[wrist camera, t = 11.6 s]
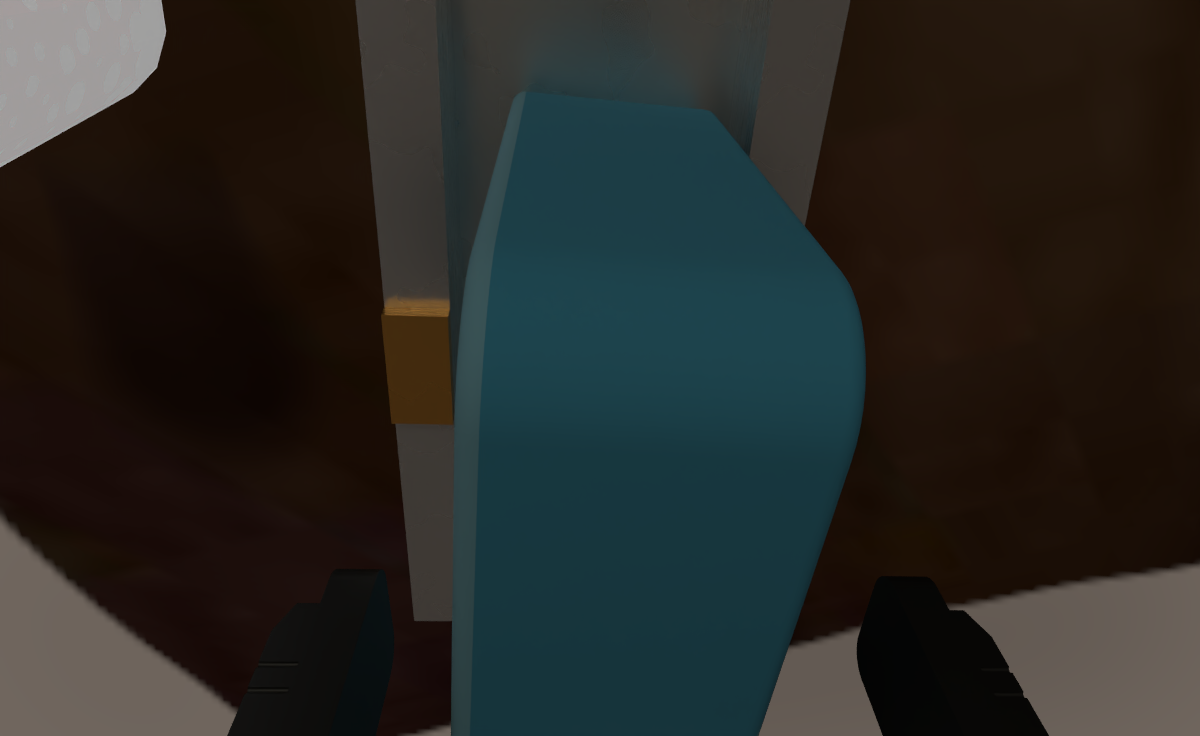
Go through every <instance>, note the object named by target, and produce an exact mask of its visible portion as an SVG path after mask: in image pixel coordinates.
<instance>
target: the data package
mask: <svg viewBox="0 0 1200 736" xmlns="http://www.w3.org/2000/svg"><path fill="white" fill-rule="evenodd" d="M865 379H866V361H865V345H864V335H863V328H862V322H861V318H860V313H859V309H858V306H857V303H856V299H855V296H854V294H853V291H852V289H851V287H850V285H849V283H848V281H847V280H846V278H845V277H844V275H843V274H842V272H841V271H840V270H839V268H838V267H837V266H836V265H835V263H834V262H833V261H832V260H831V258H830V257H829V256H828V255H827V253H826V252H825V251H824V250H823V248H822V247H821V246H820V245H819V244H818V242H817V241H816V240H815V239H814V237H813V236H812V235H811V234H810V232H809V231H808V230H807V229H806V227H805V226H804V225H803V224H802V222H801V221H800V220H799V219H798V217H797V216H796V215H795V214H794V212H793V211H792V210H791V209H790V207H789V206H788V205H787V204H786V202H785V201H784V200H783V199H782V198H781V196H780V195H779V194H778V193H777V191H776V190H775V189H774V188H773V186H772V185H771V184H770V183H769V181H768V180H767V179H766V178H765V176H764V175H763V174H762V173H761V171H760V170H759V169H758V168H757V166H756V165H755V164H754V163H753V161H752V160H751V159H750V158H749V157H748V155H747V154H746V153H745V152H744V150H743V149H742V148H741V147H740V145H739V144H738V143H737V142H736V140H735V139H734V138H733V137H732V135H731V134H730V133H729V132H728V130H727V129H726V128H725V127H724V125H723V124H722V123H721V122H720V120H719V119H718V118H717V117H716V116H715V114H713V113H712V112H711V111H709V110H703V109H694V108H684V107H674V106H664V105H654V104H644V103H634V102H624V101H614V100H604V99H595V98H585V97H575V96H565V95H555V94H545V93H535V92H520V93H518V94H517V95H516V96H515V97H514V99H513V102H512V105H511V109H510V112H509V116H508V120H507V123H506V127H505V131H504V134H503V138H502V142H501V145H500V149H499V153H498V156H497V160H496V164H495V167H494V171H493V175H492V178H491V182H490V186H489V189H488V193H487V197H486V200H485V204H484V208H483V211H482V215H481V219H480V222H479V226H478V230H477V233H476V237H475V240H474V244H473V248H472V251H471V256H470V260H469V264H468V269H467V275H466V281H465V288H464V296H463V304H462V312H461V322H460V333H459V344H458V357H457V372H456V390H455V415H454V498H453V594H452V690H451V736H758V735H759V732H760V729H761V727H762V724H763V721H764V718H765V715H766V712H767V709H768V706H769V703H770V700H771V697H772V694H773V691H774V688H775V685H776V682H777V679H778V676H779V673H780V670H781V667H782V664H783V661H784V659H785V656H786V653H787V650H788V647H789V644H790V641H791V638H792V635H793V632H794V629H795V626H796V623H797V620H798V617H799V614H800V611H801V608H802V605H803V603H804V600H805V597H806V594H807V591H808V588H809V585H810V582H811V579H812V576H813V573H814V570H815V567H816V564H817V561H818V558H819V555H820V552H821V549H822V546H823V543H824V541H825V538H826V535H827V532H828V529H829V526H830V523H831V520H832V517H833V514H834V511H835V508H836V505H837V502H838V499H839V496H840V493H841V490H842V487H843V484H844V482H845V479H846V476H847V473H848V470H849V467H850V464H851V461H852V458H853V454H854V451H855V448H856V444H857V440H858V435H859V431H860V426H861V420H862V414H863V407H864V396H865Z"/></svg>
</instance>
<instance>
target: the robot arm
mask: <svg viewBox="0 0 1200 736" xmlns="http://www.w3.org/2000/svg"><path fill="white" fill-rule="evenodd" d="M393 653H394V632H393V624H392V617H391V610H390V603H389V596H388V589H387V581H386V575H385V572H384V570H379V569H336V570H334V571H333V573H332V574H331V576H330V579H329V581H328V584H327V587H326V589H325V592H324V595H323V598H322V600H321V603H297V604H296V605H295V606H294V607H293V608H292V609H291V610H290V611H289V613H288V614H287V615H286V616H285V617H284V618H283V619H282V620H281V621H280V622H279V623H278V624H277V625H276V626H275V628H274V629H273V630H272V631H271V634H270V636H269V639H268V641H267V643H266V646H265V648H264V650H263V653H262V655H261V657H260V660H259V666H258V668H256V669H255V672H254V674H253V676H252V679H251V681H250V683H249V686H248V692H247V694H245V695H244V697H243V700H242V702H241V705H240V707H239V709H238V712H237V714H236V716H235V719H234V721H233V723H232V726H231V728H230V730H229V733H228V735H227V736H376V732H377V728H378V724H379V719H380V715H381V711H382V707H383V703H384V699H385V695H386V691H387V687H388V682H389V678H390V674H391V669H392V663H393ZM857 661H858V668H859V672H860V675H861V679H862V682H863V684H864V687H865V689H866V692H867V695H868V697H869V700H870V703H871V705H872V708H873V711H874V713H875V716H876V719H877V721H878V724H879V726H880V729H881V732H882V735H883V736H1049V735H1048V733H1047V731H1046V730H1045V728H1044V726H1043V725H1042V723H1041V721H1040V719H1039V718H1038V716H1037V714H1036V713H1035V711H1034V709H1033V708H1032V706H1031V704H1030V702H1029V700H1028V699H1027V698H1024V696H1023V690H1022V689H1021V687H1020V685H1019V683H1018V681H1017V680H1016V678H1015V676H1014V675H1013V673H1010V672H1009V666H1008V664H1007V663H1006V661H1005V659H1004V657H1003V656H1002V654H1001V652H1000V651H999V649H998V647H997V645H996V644H995V642H994V640H993V638H992V637H991V636H990V635H989V634H988V633H987V632H986V631H985V630H984V629H983V628H982V627H981V626H980V625H979V624H977V622H975V621H974V620H973V619H972V618H971V617H970V616H969V615H968V614H967V613H966V612H965V611H963V610H949V609H948V607H947V605H946V603H945V601H944V599H943V598H942V596H941V594H940V592H939V590H938V588H937V587H936V585H935V583H934V582H933V581H932V580H931V579H930V578H928V577H902V576H881V577H879V578H878V580H877V581H876V583H875V586H874V589H873V592H872V595H871V599H870V602H869V605H868V608H867V611H866V614H865V617H864V620H863V624H862V627H861V630H860V633H859V636H858V641H857Z"/></svg>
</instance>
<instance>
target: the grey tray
mask: <svg viewBox="0 0 1200 736" xmlns="http://www.w3.org/2000/svg"><path fill="white" fill-rule="evenodd" d="M849 4H850V0H356V9H357V20H358V31H359V41H360V52H361V62H362V73H363V83H364V94H365V105H366V115H367V126H368V136H369V147H370V157H371V168H372V178H373V189H374V200H375V210H376V221H377V231H378V242H379V252H380V263H381V274H382V284H383V295H384V305H385V308H384V310H383V312H382V314H381V318H382V329H383V339H384V349H385V359H386V369H387V380H388V390H389V400H390V410H391V421H392V424H396V432H397V443H398V453H399V464H400V474H401V485H402V495H403V506H404V516H405V527H406V538H407V548H408V559H409V569H410V580H411V590H412V601H413V612H414V621H452V594H453V498H454V415H455V390H456V372H457V357H458V344H459V333H460V322H461V312H462V304H463V296H464V288H465V281H466V275H467V269H468V264H469V260H470V256H471V251H472V248H473V244H474V240H475V237H476V233H477V230H478V226H479V222H480V219H481V215H482V211H483V208H484V204H485V200H486V197H487V193H488V189H489V186H490V182H491V178H492V175H493V171H494V167H495V164H496V160H497V156H498V153H499V149H500V145H501V142H502V138H503V134H504V131H505V127H506V123H507V120H508V116H509V112H510V109H511V105H512V102H513V99H514V97H515V96H516V95H517V94H518V93H520V92H535V93H545V94H555V95H565V96H575V97H585V98H595V99H604V100H614V101H624V102H634V103H644V104H654V105H664V106H674V107H684V108H694V109H703V110H709V111H711V112H712V113H713V114H715V116H716V117H717V118H718V119H719V120H720V122H721V123H722V124H723V125H724V127H725V128H726V129H727V130H728V132H729V133H730V134H731V135H732V137H733V138H734V139H735V140H736V142H737V143H738V144H739V145H740V147H741V148H742V149H743V150H744V152H745V153H746V154H747V155H748V157H749V158H750V159H751V160H752V161H753V163H754V164H755V165H756V166H757V168H758V169H759V170H760V171H761V173H762V174H763V175H764V176H765V178H766V179H767V180H768V181H769V183H770V184H771V185H772V186H773V188H774V189H775V190H776V191H777V193H778V194H779V195H780V196H781V198H782V199H783V200H784V201H785V202H786V204H787V205H788V206H789V207H790V209H791V210H792V211H793V212H794V214H795V215H796V216H797V217H798V219H799V220H800V221H801V222H802V224H803V225H804V226H805V222H806V217H807V212H808V207H809V202H810V197H811V192H812V187H813V182H814V177H815V172H816V167H817V162H818V157H819V152H820V147H821V143H822V138H823V133H824V128H825V123H826V118H827V113H828V108H829V103H830V98H831V93H832V88H833V83H834V78H835V73H836V68H837V63H838V58H839V54H840V49H841V44H842V39H843V34H844V29H845V24H846V19H847V14H848V9H849Z"/></svg>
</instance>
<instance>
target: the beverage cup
mask: <svg viewBox="0 0 1200 736" xmlns="http://www.w3.org/2000/svg"><path fill="white" fill-rule="evenodd" d="M165 34H166V28H165V22H164V15H163V8H162V2H161V0H0V167H1V166H3V165H5V164H7V163H8V162H10V161H12V160H14V159H15V158H17V157H19V156H21V155H23V154H24V153H26V152H28V151H30V150H32V149H33V148H35V147H37V146H39V145H40V144H42V143H44V142H46V141H48V140H49V139H51V138H53V137H55V136H57V135H58V134H60V133H62V132H64V131H65V130H67V129H69V128H71V127H73V126H74V125H76V124H78V123H80V122H82V121H83V120H85V119H87V118H89V117H90V116H92V115H94V114H96V113H98V112H99V111H101V110H103V109H105V108H106V107H108V106H110V105H112V104H114V103H115V102H117V101H119V100H121V99H123V98H124V97H126V96H128V95H130V94H131V93H133V92H134V91H135V90H136V89H137V88H138V87H139V86H140V85H141V84H142V83H143V82H144V81H145V80H146V79H147V78H148V76H149V75H150V74H151V73H152V72H153V71H154V70H155V69H156V68H157V65H158V61H159V57H160V53H161V49H162V46H163V42H164V38H165Z"/></svg>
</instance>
